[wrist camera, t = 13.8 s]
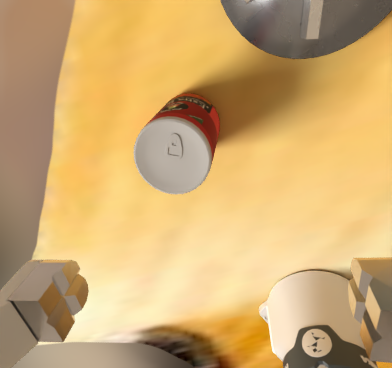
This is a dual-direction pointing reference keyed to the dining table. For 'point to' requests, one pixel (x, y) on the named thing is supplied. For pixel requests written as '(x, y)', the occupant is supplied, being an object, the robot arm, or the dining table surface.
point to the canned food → (178, 144)
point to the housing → (292, 19)
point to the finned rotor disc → (309, 18)
